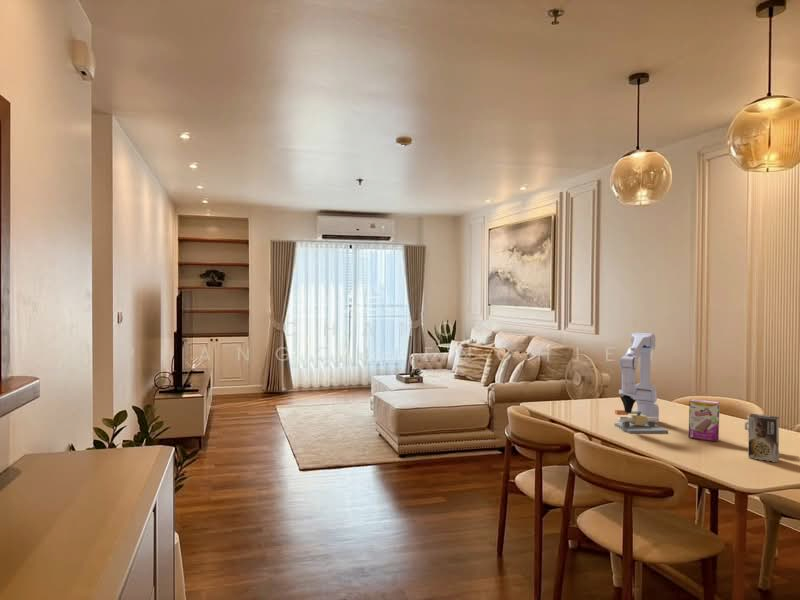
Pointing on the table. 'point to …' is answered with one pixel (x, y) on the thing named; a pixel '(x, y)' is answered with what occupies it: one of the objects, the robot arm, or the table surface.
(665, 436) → the table surface
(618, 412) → the valve lever
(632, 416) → the valve board
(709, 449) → the table surface
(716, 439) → the candy bar box
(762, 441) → the coffee box
